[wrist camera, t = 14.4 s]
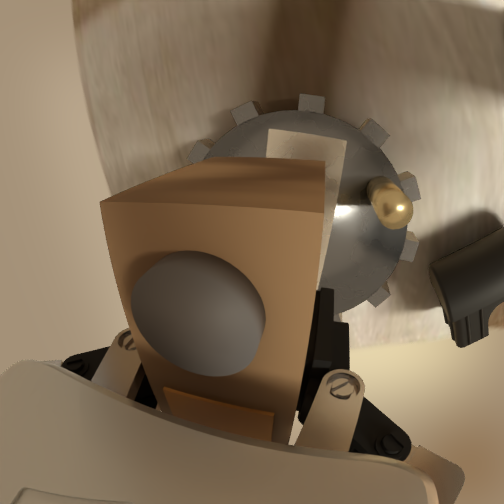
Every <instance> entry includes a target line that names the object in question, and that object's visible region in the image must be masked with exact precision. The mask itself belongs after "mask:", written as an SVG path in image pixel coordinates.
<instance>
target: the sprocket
mask: <svg viewBox="0 0 504 504" xmlns="http://www.w3.org/2000/svg"><path fill="white" fill-rule="evenodd" d="M324 107H325V97H322V96H315V95H308V94H301V93H300V96H299V106H298V110H288V111H277V112H272V113H267V114H264V113H263V111H262V109H261V107H260V104H259V103H258V102H254V101H250V102H248V103H246V104H244V105H241V106H239V107H237V108H235V109H233V110H231V113H232V116H233V118H234V120H235V122H236V124H237V126H236V127H234V128H233V129H232V130H230V131H229V132H228V133H226V134H225V135H224V136H222V137H221V138H220V139H219V140H218V141H217V143H214V142H213V141H212V140H210V139H204V140H198V141H197V143H196V144H195V146H194V148H193V149H192V151H191V153H190V154H189V156H188V158H187V159H188V160H189V161H191V162H192V163H193V164H194V163H197V162H200V161H203V160H206V159H209V158H212V157H263V158H286V159H303V160H317V161H325V204H324V221H323V232H322V243H321V252H320V262H319V270H318V279H317V287H316V290H319V291H320V289H321V287H324V288H331V289H334V321H336V322H342V312H345V311H347V310H349V309H351V308H354V307H355V306H357V305H359V304H360V303H362V302H364V301H365V300H367V301H369V302H370V303H371V304H372V305H373V306H375V307H377V306H378V305H379V304H381V303H382V302H383V301H384V300H385V299H386V298H388V297H389V296H390V291H389V287H388V284H387V281H386V280H387V279H388V278H389V276H390V275H391V274H392V272H393V270H394V268H395V267H396V265H397V263H398V261H399V259H400V260H405V261H410V262H413V260H414V257H415V254H416V251H417V248H418V245H419V241H418V239H417V238H416V236H415V235H414V233H413V232H410V231H407V224H408V223H409V222H410V220H411V218H412V215H413V205H412V202H413V201H416V200H419V199H421V197H420V193H419V189H418V185H417V181H416V178H415V176H414V175H412V174H411V173H409V172H408V171H407V172H404V173H401V174H398V175H397V173H396V171H395V170H394V168H393V166H392V164H391V163H390V161H389V160H388V158H387V157H386V156H385V154H384V153H383V152H382V150H381V149H380V147H381V146H382V144H383V143H384V142H385V141H386V140H387V138H388V137H389V136H390V135H389V134H388V133H387V132H386V131H385V130H384V129H383V128H381V127H380V126H379V125H378V124H377V123H376V122H375V121H374V120H372V119H367V120H366V121H365V122H364V123H363V124H362V126H361V127H360V128H359V129H356V128H355V127H353V126H351V125H349V124H347V123H346V122H344V121H342V120H339V119H336V118H334V117H331V116H328V115H325V114H324Z"/></svg>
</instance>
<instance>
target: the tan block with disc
mask: <svg viewBox="0 0 504 504" xmlns="http://www.w3.org/2000/svg"><path fill="white" fill-rule="evenodd" d="M324 204H325V161H317V160H303V159H286V158H263V157H212V158H209V159H206V160H203V161H200V162H197V163H194V164H191V165H189V166H186V167H183V168H180V169H178V170H175V171H172V172H170V173H167V174H164V175H162V176H159V177H157V178H154V179H152V180H149V181H147V182H144V183H142V184H139V185H137V186H135V187H132V188H130V189H127V190H125V191H123V192H121V193H118V194H116V195H114V196H112V197H109V198H107V199H105V200H103V201H101V202H100V207H101V214H102V219H103V224H104V230H105V235H106V240H107V245H108V249H109V254H110V258H111V263H112V267H113V271H114V275H115V279H116V283H117V287H118V291H119V294H120V298H121V301H122V305H123V308H124V312H125V315H126V318H127V322H128V325H129V328H130V331H131V334H132V337H133V340H134V343H135V346H136V349H137V351H138V354H139V357H140V360H141V362H142V365H143V368H144V370H145V373H146V376H147V378H148V381H149V383H150V386H151V388H152V390H153V393H154V395H155V398H156V400H157V402H158V404H159V407H160V409H161V411H162V412H164V413H167V414H169V415H172V416H175V417H178V418H181V419H184V420H187V421H190V422H194V423H197V424H200V425H203V426H207V427H210V428H214V429H218V430H221V431H225V432H229V433H233V434H237V435H241V436H246V437H250V438H255V439H260V440H265V441H270V442H275V443H281V444H287V445H288V443H289V439H290V435H291V430H292V426H293V421H294V417H295V412H296V407H297V402H298V397H299V392H300V387H301V382H302V377H303V371H304V366H305V360H306V354H307V348H308V342H309V336H310V330H311V323H312V316H313V309H314V302H315V295H316V287H317V279H318V270H319V262H320V252H321V243H322V232H323V221H324Z"/></svg>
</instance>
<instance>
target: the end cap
mask: <svg viewBox="0 0 504 504" xmlns="http://www.w3.org/2000/svg"><path fill="white" fill-rule="evenodd" d="M429 275H430V280H431V283H432V285H433V287H434V289H435V291H436V293H437V295H438V298H439V300H440V304H441V306H442V309H443V313H444V318H445V323H446V324H448V325H449V327H450V330H451V336H452V339H453V340H454V341H455V342H456V345H457V346H458V347H460V348H462V347H466V346H467V345H470V344H472V343H474V342H476V341H478V340H480V339H482V338H484V337H486V336H488V335H489V334H488V320H489V317H490V315H491V313H492V311H493V310H494V309H495V308H496V307H497V306H498V305H499V304H501V303H502V302H504V227H502V228H501V229H499V230H497V231H495V232H493V233H491V234H490V235H488V236H486V237H484V238H482V239H480V240H478V241H476V242H474V243H472V244H470V245H469V246H467V247H465V248H463V249H461V250H459V251H456V252H454V253H452V254H450V255H448V256H446V257H444V258H442V259H440V260H438V261H436V262H434V263H431V264H430V265H429Z"/></svg>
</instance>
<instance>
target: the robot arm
mask: <svg viewBox="0 0 504 504" xmlns="http://www.w3.org/2000/svg"><path fill="white" fill-rule="evenodd" d="M349 359H350V357H349V324H348V323H344V322H336V321H334V289H331V288H324V287H321V289H320V291H319V290H316V295H315V302H314V309H313V316H312V323H311V330H310V336H309V342H308V348H307V354H306V360H305V366H304V371H303V377H302V382H301V387H300V392H299V397H298V402H297V407H296V411H299V414H298V419H299V421H300V422H301V423H302V425H303V428H302V429H301V432H300V434H299V436H298V438H297V441H296V443H295V445H294V446H293V445H287V444H281V443H275V442H270V441H265V440H260V439H255V438H250V437H246V436H241V435H237V434H233V433H229V432H225V431H221V430H218V429H214V428H210V427H207V426H203V425H200V424H197V423H194V422H190V421H187V420H184V419H181V418H178V417H175V416H172V415H169V414H167V413H164V412H161V409H160V407H159V404H158V402H157V400H156V398H155V395H154V393H153V390H152V388H151V386H150V383H149V381H148V378H147V376H146V373H145V370H144V368H143V365H142V362H141V360H140V357H139V354H138V351H137V349H136V346H135V343H134V340H133V337H132V334H131V331H130V328H127V329H125V330H123V331H121V332H120V333H119V334H118V335H117V336H116V337H115V339H114V341H113V342H112V344H111V346H109V347H105V348H101V349H97V350H93V351H89V352H85V353H81V354H77V355H73V356H70V357H69V358H67V359H66V360H65V361H64V362H62V360H55V361H37V360H22V361H19V362H17V363H15V364H13V365H12V366H10V367H9V368H8V369H7V370H6V371H4V372H3V373H2V374H1V375H0V504H454V503H455V500H456V499H457V497H458V495H459V493H460V491H461V489H462V486H463V484H464V480H465V476H464V472H463V470H462V469H461V468H460V467H459V466H458V465H456V464H454V463H452V462H450V461H448V460H446V459H444V458H442V457H441V456H439V455H437V454H435V453H433V452H431V451H429V450H427V449H425V448H424V447H422V446H420V445H419V446H418V447H415V446H414V445H412V444H411V440H410V438H409V436H408V435H407V434H406V433H405V432H404V431H403V430H402V429H401V428H400V427H399V426H397V425H396V424H395V423H394V422H393V421H391V420H390V419H389V418H388V417H387V416H386V415H385V414H383V413H382V412H381V411H380V410H379V409H377V408H376V407H375V406H374V405H373V404H372V403H371V402H370V401H368V400H367V399H366V398H365V397H364V392H365V385H364V382H363V380H362V379H361V378H360V376H359V375H357V374H356V373H354V372H352V371H350V370H349V368H350V365H349V364H350V363H349V361H350V360H349Z"/></svg>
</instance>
